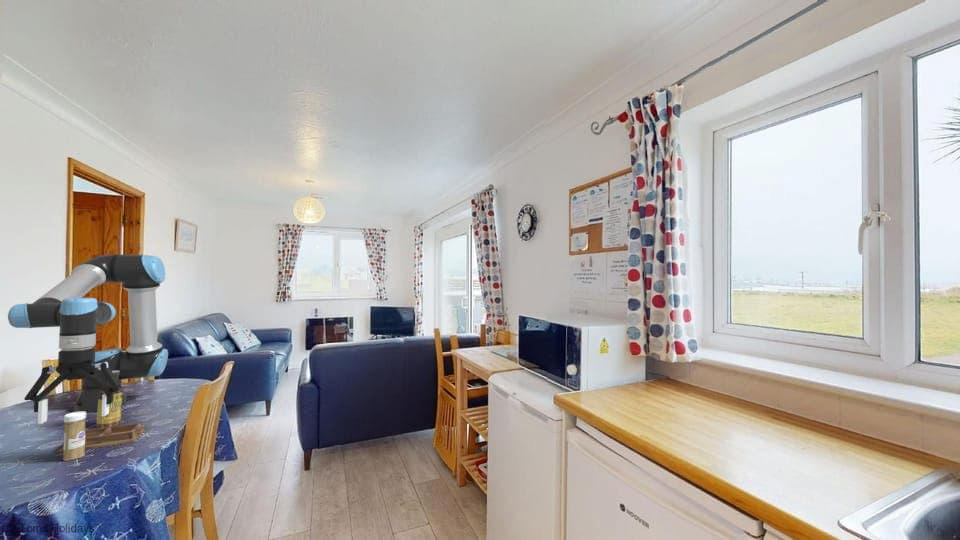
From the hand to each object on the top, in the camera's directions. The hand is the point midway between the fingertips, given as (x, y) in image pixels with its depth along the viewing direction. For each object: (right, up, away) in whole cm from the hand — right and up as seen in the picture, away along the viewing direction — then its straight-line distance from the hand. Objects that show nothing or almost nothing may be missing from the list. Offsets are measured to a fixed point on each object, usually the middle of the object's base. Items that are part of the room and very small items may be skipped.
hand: (74, 418), depth 109 cm
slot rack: (-3, -12, +11) cm, 17 cm away
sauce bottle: (-13, -12, +23) cm, 29 cm away
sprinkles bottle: (0, -12, 0) cm, 12 cm away
